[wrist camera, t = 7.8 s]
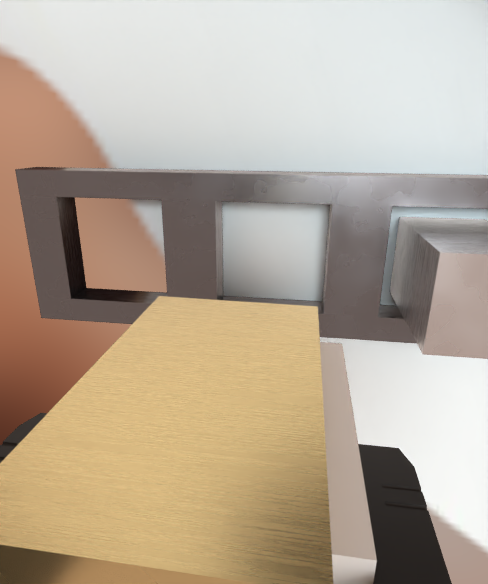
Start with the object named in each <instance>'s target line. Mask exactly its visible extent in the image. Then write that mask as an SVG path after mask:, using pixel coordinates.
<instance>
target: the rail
mask: <svg viewBox="0 0 488 584" xmlns="http://www.w3.org/2000/svg"><path fill="white" fill-rule="evenodd" d="M15 171H16V176H17V182H18V188H19V194H20V199H21V205H22V210H23V215H24V222H25V228H26V233H27V239H28V245H29V250H30V256H31V261H32V267H33V273H34V279H35V285H36V290H37V296H38V302H39V307H40V313H41V318H50V319H65V320H80V321H94V322H110V323H124V324H133V323H134V322H135V321H136V320H137V319H138V318H139V317H140V316H141V315H142V313H143V312H144V311H145V310H146V309H147V308H148V307H149V306H150V305H151V304H152V303H153V302H154V301H155V300H156V299H157V298H158V297H159V296H166V297H181V298H196V299H211V300H227V301H242V302H257V303H272V304H287V305H302V306H317V307H318V319H319V336H320V337H330V338H345V339H360V340H375V341H389V342H404V343H416V341H415V339H414V337H413V335H412V333H411V331H410V329H409V327H408V325H407V324H406V322H405V320H404V318H403V316H402V314H401V312H400V310H399V308H398V306H390V305H380V297H381V289H382V282H383V274H384V266H385V258H386V250H387V242H388V235H389V227H390V219H391V211H392V206H409V207H445V208H482V209H488V175H449V174H393V173H337V172H281V171H224V170H168V169H112V168H56V167H54V168H53V167H33V168H25V169H16V170H15ZM74 197H85V198H118V199H154V200H162V216H163V232H164V248H165V265H166V281H167V293H163V292H144V291H128V290H109V289H92V288H86V282H85V275H84V267H83V259H82V252H81V244H80V237H79V229H78V222H77V215H76V206H75V199H74ZM222 201H227V202H263V203H300V204H330V212H329V225H328V238H327V251H326V264H325V277H324V290H323V302H320V301H303V300H285V299H268V298H250V297H233V296H223V233H222Z"/></svg>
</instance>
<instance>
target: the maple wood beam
mask: <svg viewBox="0 0 488 584" xmlns="http://www.w3.org/2000/svg"><path fill="white" fill-rule="evenodd" d="M0 584H333V568H332V550H331V532H330V514H329V496H328V479H327V461H326V443H325V425H324V408H323V390H322V372H321V354H320V336H319V319H318V307H317V306H302V305H287V304H272V303H257V302H242V301H227V300H211V299H196V298H181V297H166V296H159V297H158V298H157V299H156V300H155V301H154V302H153V303H152V304H151V305H150V306H149V307H148V308H147V309H146V310H145V311H144V312H143V313H142V315H141V316H140V317H139V318H138V319H137V320H136V321H135V322H134V323H133V324H132V325H131V326H130V327H129V328H128V329H127V330H126V331H125V332H124V334H123V335H122V336H121V337H120V338H119V339H118V340H117V341H116V342H115V343H114V344H113V345H112V346H111V347H110V348H109V349H108V350H107V352H106V353H105V354H104V355H103V356H102V357H101V358H100V359H99V360H98V361H97V362H96V363H95V364H94V365H93V366H92V367H91V368H90V369H89V370H88V372H86V374H85V375H84V376H83V377H82V378H81V379H80V380H79V381H78V382H77V383H76V384H75V385H74V386H73V387H72V388H71V389H70V390H69V391H68V393H67V394H66V395H65V396H64V397H63V398H62V399H61V400H60V401H59V402H58V403H57V404H56V405H55V406H54V407H53V408H52V409H51V410H50V411H49V413H48V414H47V415H46V416H45V417H44V418H43V419H42V420H41V421H40V422H39V423H38V424H37V425H36V426H35V427H34V428H33V429H32V430H31V432H30V433H29V434H28V435H27V436H26V437H25V438H24V439H23V440H22V441H21V442H20V443H19V444H18V445H17V446H16V447H15V448H14V449H13V450H12V452H11V453H10V454H9V455H8V456H7V457H6V458H5V459H4V460H3V461H2V462H1V463H0Z"/></svg>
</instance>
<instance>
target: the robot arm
mask: <svg viewBox="0 0 488 584" xmlns="http://www.w3.org/2000/svg"><path fill="white" fill-rule="evenodd" d="M320 354H321V372H322V390H323V408H324V425H325V443H326V461H327V479H328V496H329V514H330V532H331V550H332V568H333V584H452V583H451V580H450V577H449V574H448V571H447V568H446V565H445V562H444V559H443V556H442V552H441V549H440V546H439V543H438V540H437V537H436V533H435V530H434V527H433V524H432V521H431V518H430V515H429V512H428V511H427V505H426V502H425V499H424V496H423V493H422V492H421V487H420V484H419V480H418V477H417V474H416V471H415V468H414V466H413V465H412V464H411V463H410V461H409V460H408V459H407V458H406V457H405V455H404V454H403V453H402V452H401V451H400V450H399V448H391V447H381V446H371V445H362V444H358V440H357V434H356V428H355V421H354V415H353V409H352V403H351V397H350V390H349V384H348V378H347V372H346V366H345V359H344V353H343V347H342V344H339V343H325V342H320ZM46 415H47V414H46V413H40V414H38V415H37V416H35V417H33V418H32V419H30V420H28V421H26V422H25V423H23V424H21V425H20V426H18V427H17V429H15V430H14V432H12V433H11V434H10V435H9V436H8V437H7V438H6V439H5V440H4V441H3V444H2V445H0V463H1V462H2V461H3V460H4V459H5V458H6V457H7V456H8V455H9V454H10V453H11V452H12V450H13V449H14V448H15V447H16V446H17V445H18V444H19V443H20V442H21V441H22V440H23V439H24V438H25V437H26V436H27V435H28V434H29V433H30V432H31V430H32V429H33V428H34V427H35V426H36V425H37V424H38V423H39V422H40V421H41V420H42V419H43V418H44V417H45V416H46Z"/></svg>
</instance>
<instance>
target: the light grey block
mask: <svg viewBox="0 0 488 584" xmlns="http://www.w3.org/2000/svg"><path fill="white" fill-rule="evenodd" d="M390 293H391V295H392V297H393V299H394V301H395V303H396V305H397V306H398V308H399V310H400V312H401V314H402V316H403V318H404V320H405V322H406V324H407V325H408V327H409V329H410V331H411V333H412V335H413V337H414V339H415V341H416V343H417V344H418V346H419V348H420V350H421V352H422V354H427V355H441V356H455V357H470V358H484V359H488V221H487V220H485V219H459V218H424V217H400V218H399V225H398V233H397V240H396V248H395V255H394V263H393V270H392V278H391V285H390Z"/></svg>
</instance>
